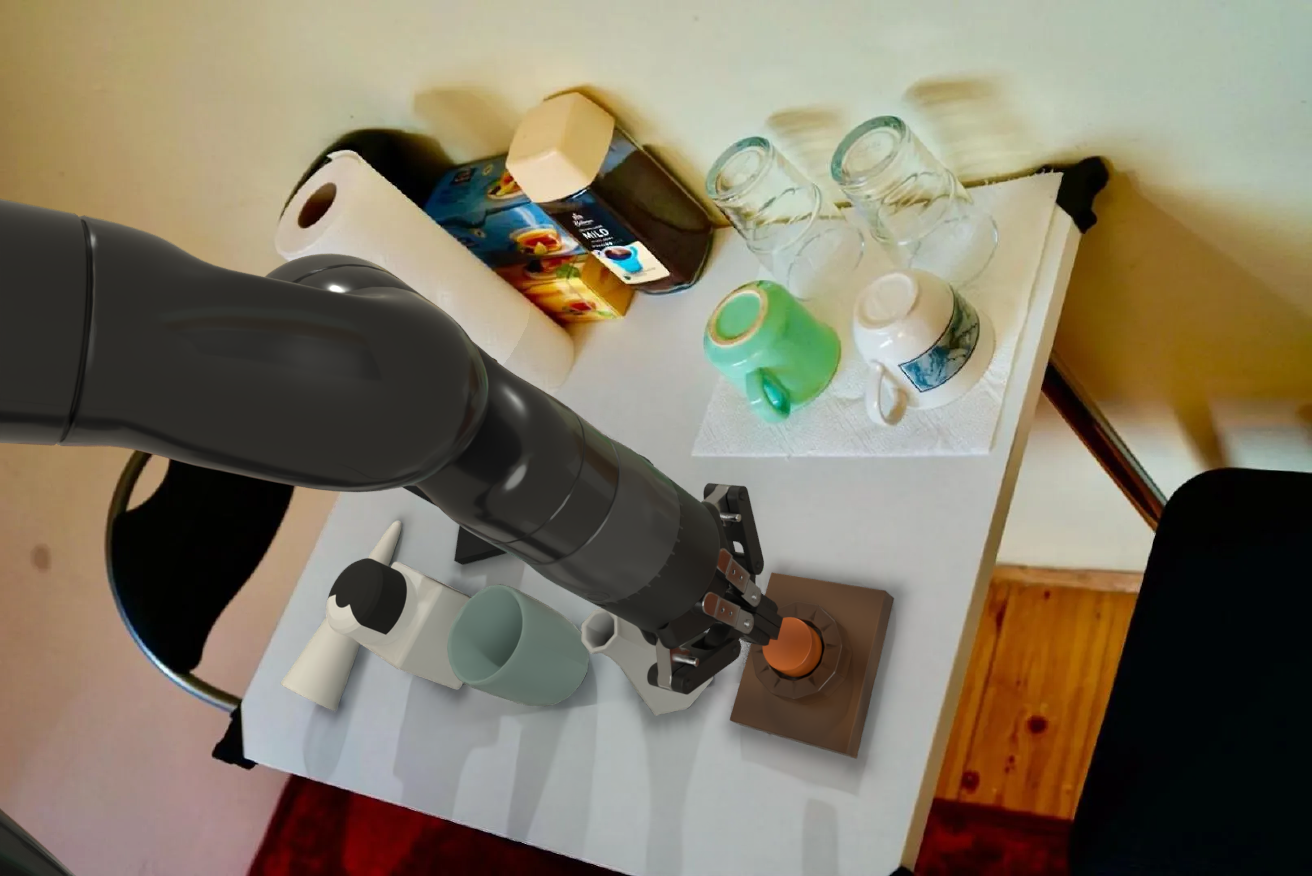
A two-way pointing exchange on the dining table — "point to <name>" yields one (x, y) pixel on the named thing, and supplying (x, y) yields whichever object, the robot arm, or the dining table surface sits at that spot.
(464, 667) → the cup
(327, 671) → the long cone
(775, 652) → the button
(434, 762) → the dining table surface
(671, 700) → the flask
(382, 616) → the container
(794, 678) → the brown button mount
